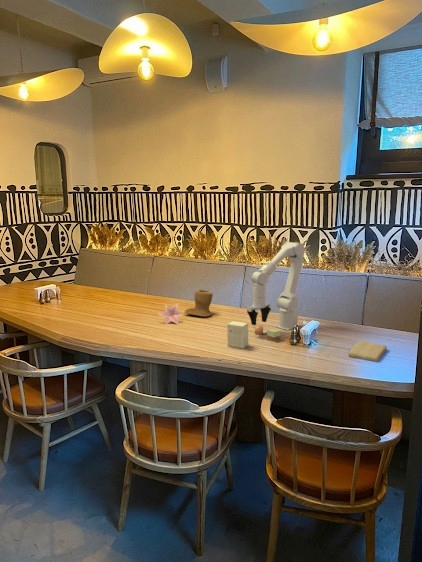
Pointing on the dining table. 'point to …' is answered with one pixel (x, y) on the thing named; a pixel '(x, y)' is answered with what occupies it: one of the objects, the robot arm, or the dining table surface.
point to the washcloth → (367, 351)
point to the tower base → (273, 338)
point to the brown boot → (201, 304)
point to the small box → (237, 334)
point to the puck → (258, 330)
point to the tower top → (274, 332)
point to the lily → (171, 314)
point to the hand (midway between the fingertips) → (258, 323)
